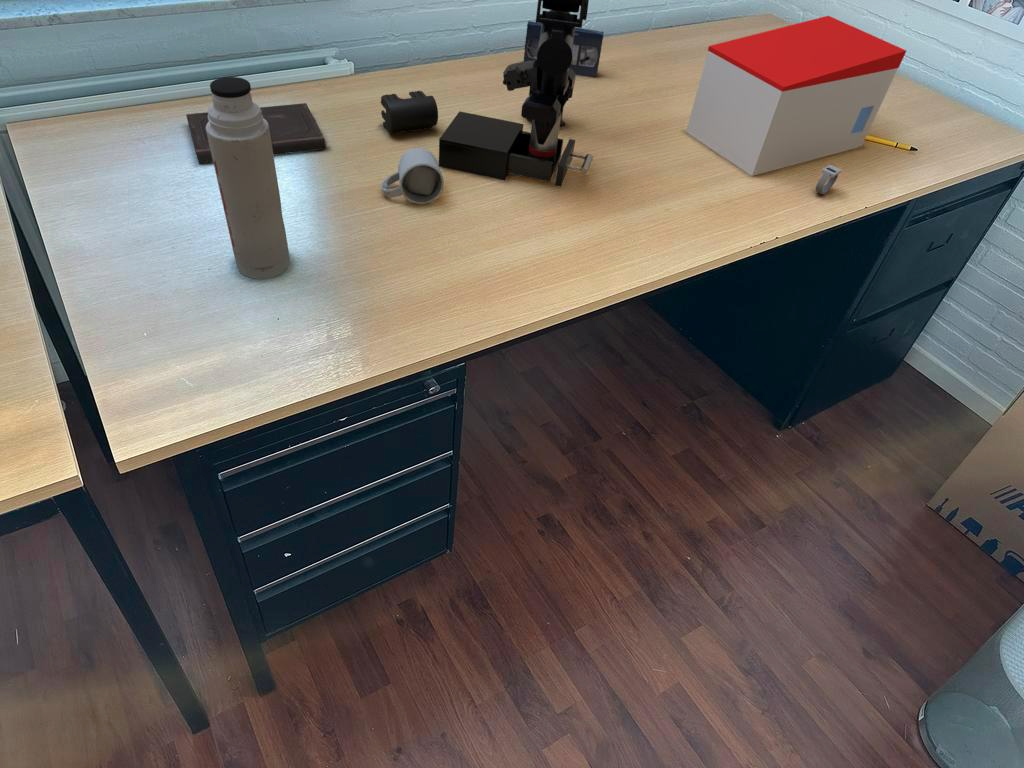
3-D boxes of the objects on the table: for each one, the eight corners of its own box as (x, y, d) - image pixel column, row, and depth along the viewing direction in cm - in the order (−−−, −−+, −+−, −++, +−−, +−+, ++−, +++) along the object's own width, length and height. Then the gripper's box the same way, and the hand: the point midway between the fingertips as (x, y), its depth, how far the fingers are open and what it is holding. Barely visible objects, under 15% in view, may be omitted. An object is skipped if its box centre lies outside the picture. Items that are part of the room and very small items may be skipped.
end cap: (391, 140, 142) (390, 107, 137) (379, 125, 146) (378, 92, 142) (438, 134, 146) (438, 101, 141) (425, 119, 150) (425, 87, 145)
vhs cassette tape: (522, 66, 175) (526, 23, 168) (524, 62, 177) (528, 19, 170) (596, 78, 174) (603, 35, 167) (597, 73, 176) (604, 31, 169)
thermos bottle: (231, 278, 107) (189, 94, 88) (241, 247, 113) (203, 68, 93) (286, 279, 108) (256, 98, 89) (293, 249, 114) (266, 72, 94)
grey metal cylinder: (545, 153, 140) (551, 104, 133) (559, 166, 137) (567, 116, 130) (522, 158, 138) (527, 108, 131) (536, 171, 135) (542, 120, 128)
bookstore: (862, 146, 160) (907, 50, 145) (751, 176, 145) (788, 72, 130) (794, 107, 172) (829, 15, 157) (685, 131, 157) (712, 32, 142)
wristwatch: (823, 184, 145) (833, 162, 142) (835, 190, 144) (845, 167, 141) (808, 194, 142) (818, 171, 139) (820, 199, 141) (831, 177, 137)
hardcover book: (188, 125, 139) (185, 114, 138) (307, 113, 147) (306, 102, 145) (199, 165, 129) (196, 153, 128) (326, 150, 137) (324, 138, 136)
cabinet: (520, 151, 144) (523, 123, 140) (504, 180, 135) (507, 152, 131) (458, 138, 145) (459, 111, 141) (438, 166, 137) (439, 138, 133)
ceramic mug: (437, 180, 133) (437, 141, 127) (443, 203, 127) (444, 164, 122) (379, 182, 131) (377, 143, 125) (383, 206, 125) (381, 166, 120)
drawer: (593, 163, 141) (596, 144, 138) (582, 191, 133) (586, 171, 130) (512, 147, 143) (514, 127, 140) (497, 173, 135) (499, 153, 132)
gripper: (522, 26, 131) (514, 109, 142) (496, 63, 117) (489, 151, 129) (581, 37, 129) (569, 120, 140) (561, 75, 116) (549, 163, 127)
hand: (544, 137), depth 134 cm, fingers closed on grey metal cylinder, 5 cm apart
